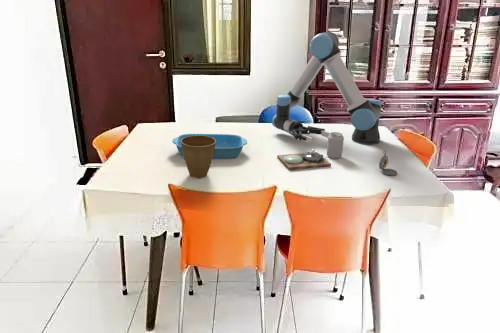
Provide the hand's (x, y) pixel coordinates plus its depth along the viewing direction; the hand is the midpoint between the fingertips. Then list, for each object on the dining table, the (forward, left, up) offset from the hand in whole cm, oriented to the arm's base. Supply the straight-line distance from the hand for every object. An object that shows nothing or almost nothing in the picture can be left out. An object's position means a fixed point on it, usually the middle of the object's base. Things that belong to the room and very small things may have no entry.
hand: (321, 138), depth 220 cm
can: (-3, +9, -7) cm, 12 cm away
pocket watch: (-18, +33, -7) cm, 39 cm away
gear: (+10, +13, -5) cm, 17 cm away
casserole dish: (+56, -9, -7) cm, 57 cm away
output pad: (+20, +13, -5) cm, 25 cm away
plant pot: (+66, +17, -7) cm, 68 cm away
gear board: (+15, +13, -7) cm, 21 cm away
